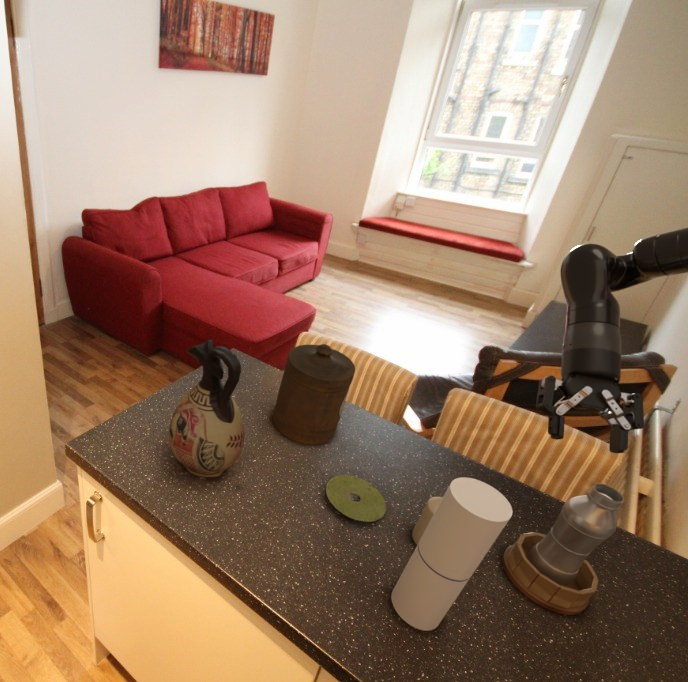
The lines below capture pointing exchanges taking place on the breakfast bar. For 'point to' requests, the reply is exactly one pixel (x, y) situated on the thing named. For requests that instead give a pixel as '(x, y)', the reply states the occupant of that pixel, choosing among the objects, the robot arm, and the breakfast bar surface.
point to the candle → (425, 518)
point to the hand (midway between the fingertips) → (586, 445)
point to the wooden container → (312, 393)
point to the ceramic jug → (209, 416)
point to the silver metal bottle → (576, 533)
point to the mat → (355, 498)
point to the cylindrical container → (450, 551)
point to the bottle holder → (547, 579)
